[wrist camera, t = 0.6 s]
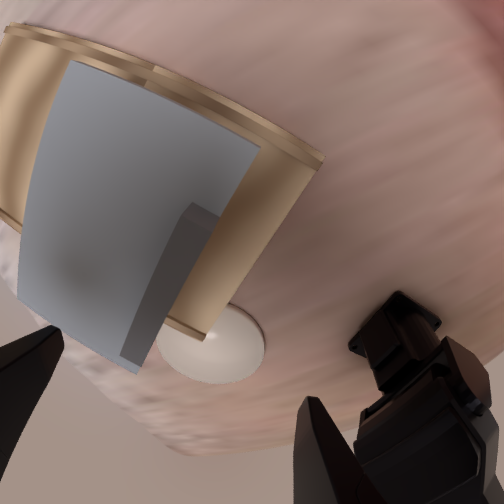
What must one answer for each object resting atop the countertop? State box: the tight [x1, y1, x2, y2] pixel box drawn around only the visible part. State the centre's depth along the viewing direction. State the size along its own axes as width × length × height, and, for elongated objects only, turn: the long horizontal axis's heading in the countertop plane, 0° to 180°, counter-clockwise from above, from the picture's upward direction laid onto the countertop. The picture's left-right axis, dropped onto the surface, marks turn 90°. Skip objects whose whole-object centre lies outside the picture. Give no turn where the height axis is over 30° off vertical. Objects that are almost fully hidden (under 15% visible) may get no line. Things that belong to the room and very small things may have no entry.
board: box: [0, 22, 326, 342], centre depth 17 cm, size 27×16×2 cm, turn 60°
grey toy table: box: [17, 60, 261, 375], centre depth 14 cm, size 9×14×8 cm, turn 150°
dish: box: [156, 303, 264, 384], centre depth 24 cm, size 9×9×1 cm
